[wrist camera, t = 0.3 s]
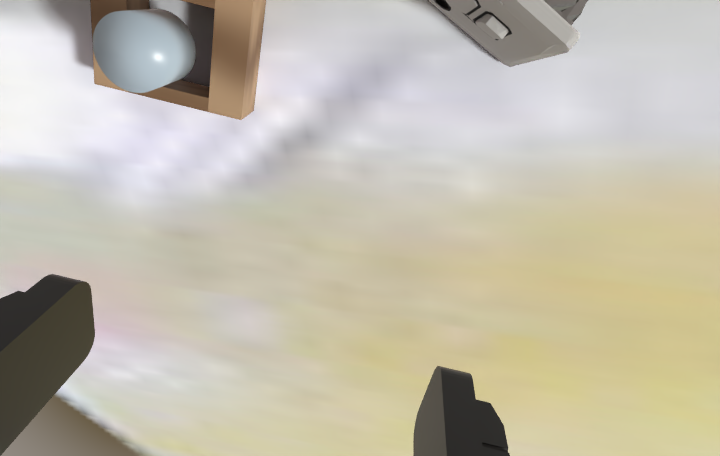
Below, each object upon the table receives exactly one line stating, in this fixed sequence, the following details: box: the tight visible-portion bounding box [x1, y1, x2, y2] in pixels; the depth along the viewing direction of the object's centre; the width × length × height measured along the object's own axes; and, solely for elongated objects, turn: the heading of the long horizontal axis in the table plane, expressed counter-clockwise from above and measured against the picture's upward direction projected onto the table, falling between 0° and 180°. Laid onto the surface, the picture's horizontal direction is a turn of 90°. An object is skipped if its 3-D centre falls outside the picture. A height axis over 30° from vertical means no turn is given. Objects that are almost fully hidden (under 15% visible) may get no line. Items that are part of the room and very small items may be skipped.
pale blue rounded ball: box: [93, 9, 196, 93], centre depth 30 cm, size 5×5×5 cm
